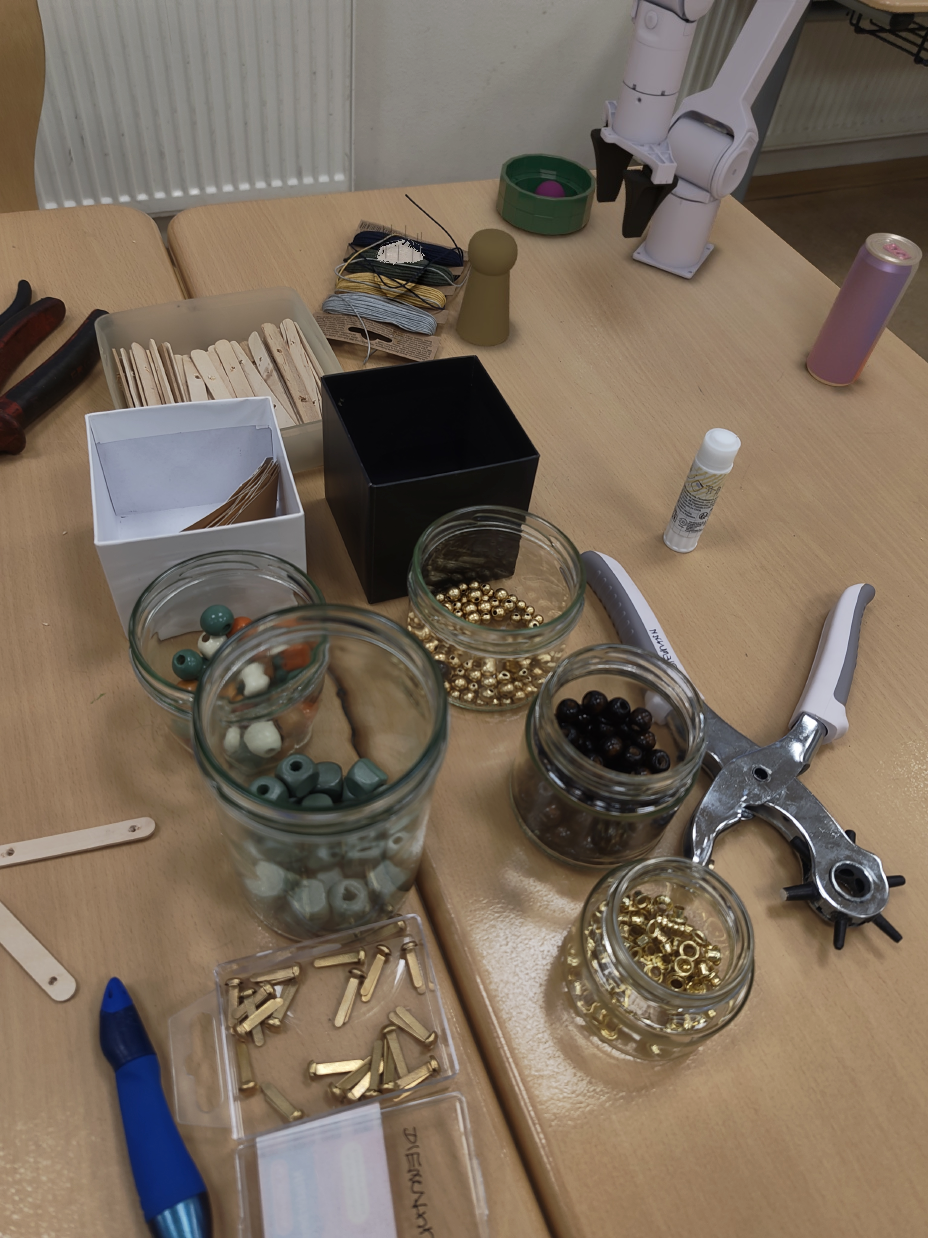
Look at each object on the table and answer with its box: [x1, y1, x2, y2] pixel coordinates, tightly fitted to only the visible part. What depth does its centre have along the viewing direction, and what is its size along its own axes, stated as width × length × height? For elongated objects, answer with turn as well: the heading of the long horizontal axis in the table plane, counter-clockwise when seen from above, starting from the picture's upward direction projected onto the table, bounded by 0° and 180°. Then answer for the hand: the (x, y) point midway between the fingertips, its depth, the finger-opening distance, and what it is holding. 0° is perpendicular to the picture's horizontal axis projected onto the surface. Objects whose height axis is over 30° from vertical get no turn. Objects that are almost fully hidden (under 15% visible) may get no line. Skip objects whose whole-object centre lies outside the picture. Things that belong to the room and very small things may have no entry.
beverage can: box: [806, 232, 923, 387], centre depth 92 cm, size 6×6×15 cm
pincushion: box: [377, 224, 425, 265], centre depth 100 cm, size 12×6×6 cm, turn 172°
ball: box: [535, 181, 565, 198], centre depth 112 cm, size 4×4×4 cm
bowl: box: [495, 152, 596, 236], centre depth 112 cm, size 12×12×5 cm
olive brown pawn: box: [455, 227, 519, 347], centre depth 92 cm, size 6×6×11 cm
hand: (618, 217), depth 96 cm, fingers open, 7 cm apart
